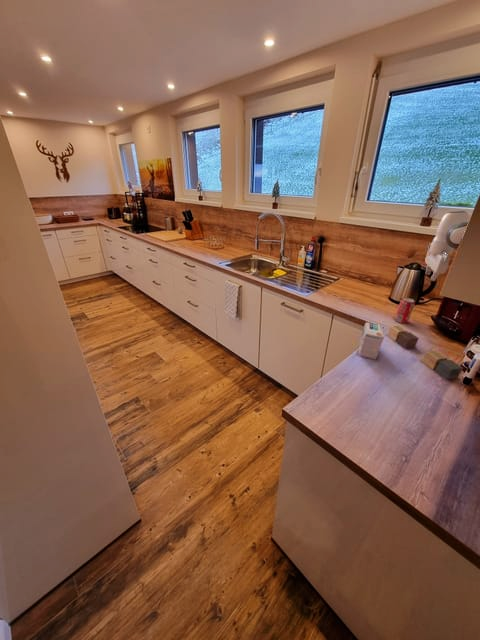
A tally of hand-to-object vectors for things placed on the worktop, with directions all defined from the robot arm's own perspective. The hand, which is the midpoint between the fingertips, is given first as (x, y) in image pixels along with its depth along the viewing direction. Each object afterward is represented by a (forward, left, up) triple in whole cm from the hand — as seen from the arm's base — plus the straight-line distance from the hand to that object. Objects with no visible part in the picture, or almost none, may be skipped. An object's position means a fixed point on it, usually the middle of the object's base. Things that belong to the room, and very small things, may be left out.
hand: (429, 277), depth 127 cm
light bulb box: (+44, +22, -23) cm, 54 cm away
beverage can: (+9, +1, -23) cm, 25 cm away
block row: (+24, +28, -23) cm, 43 cm away
